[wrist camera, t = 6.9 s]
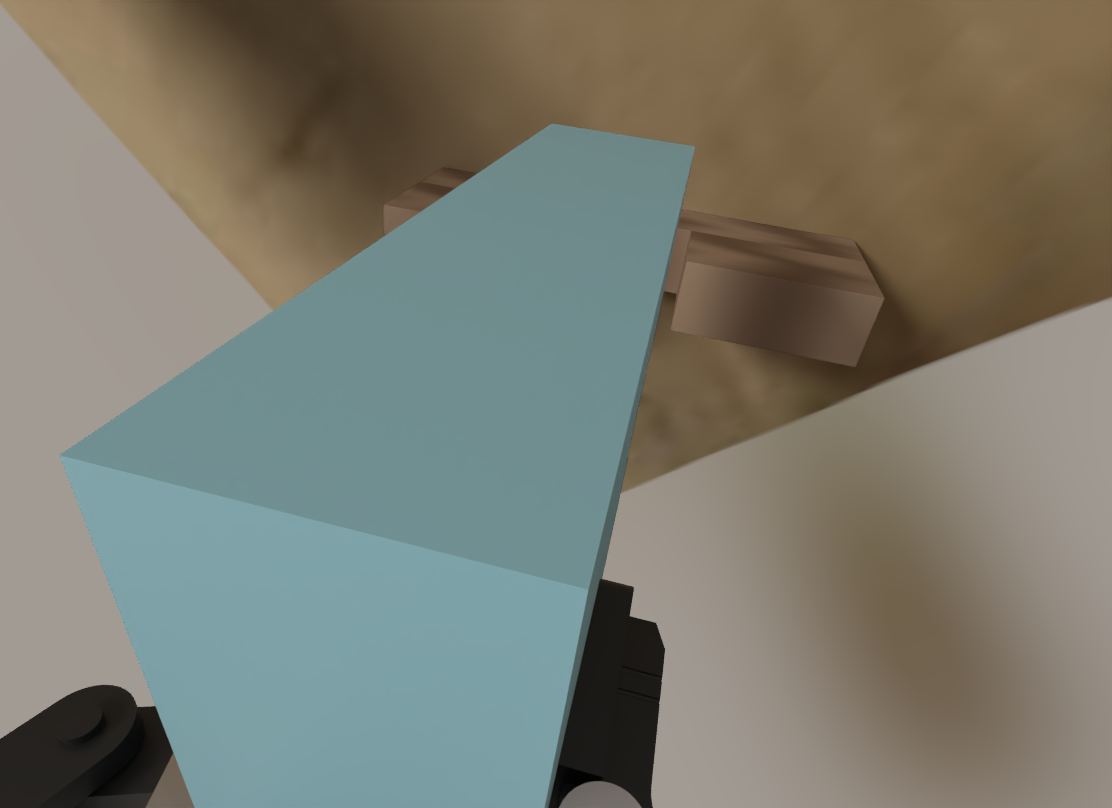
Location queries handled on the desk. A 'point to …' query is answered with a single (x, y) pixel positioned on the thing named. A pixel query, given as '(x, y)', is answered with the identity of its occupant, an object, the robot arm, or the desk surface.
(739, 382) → the desk surface
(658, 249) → the teal notched plate
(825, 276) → the walnut slotted board
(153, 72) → the desk surface
